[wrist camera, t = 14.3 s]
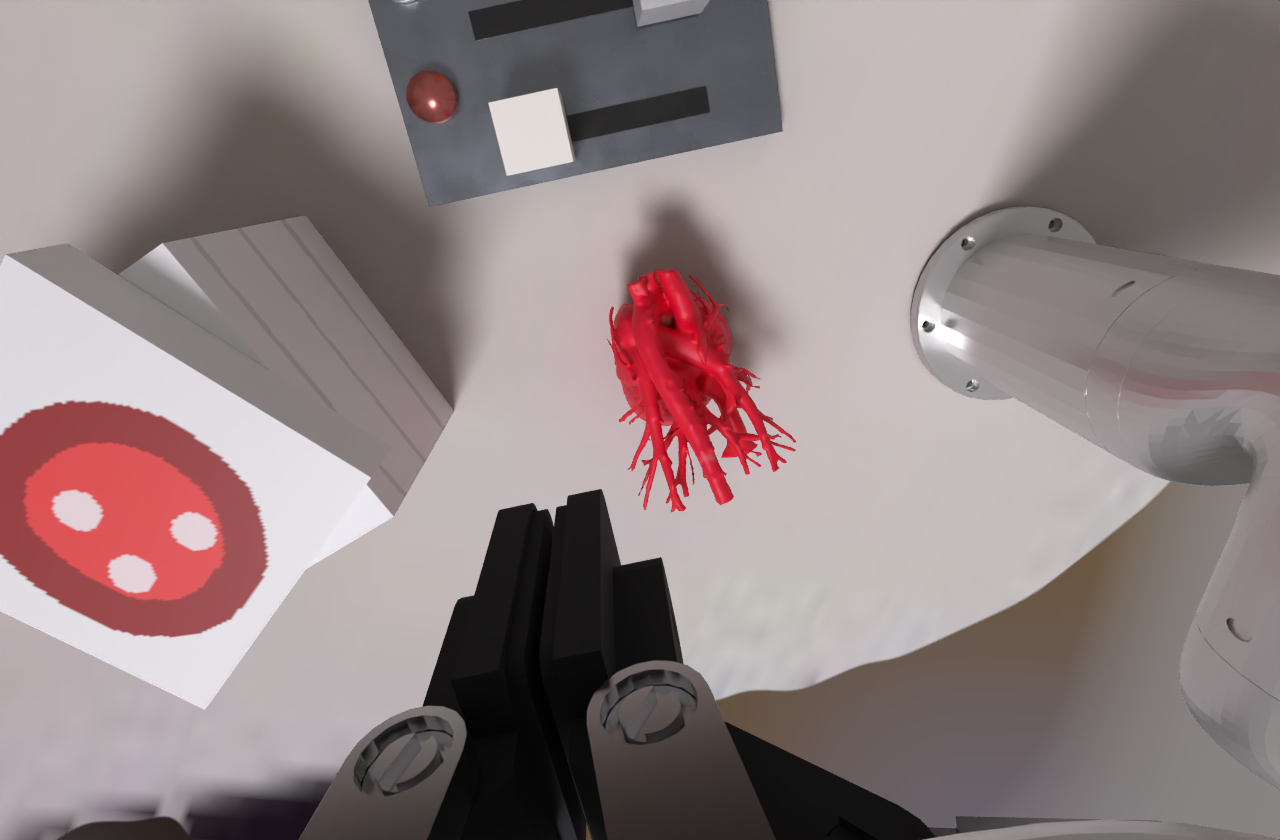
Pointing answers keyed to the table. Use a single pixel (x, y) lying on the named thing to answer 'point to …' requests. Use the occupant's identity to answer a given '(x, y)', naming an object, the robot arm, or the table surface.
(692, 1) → the grey slider
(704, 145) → the panel
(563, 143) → the ivory slider
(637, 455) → the heart organ
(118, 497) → the pizza boxes
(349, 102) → the table surface
